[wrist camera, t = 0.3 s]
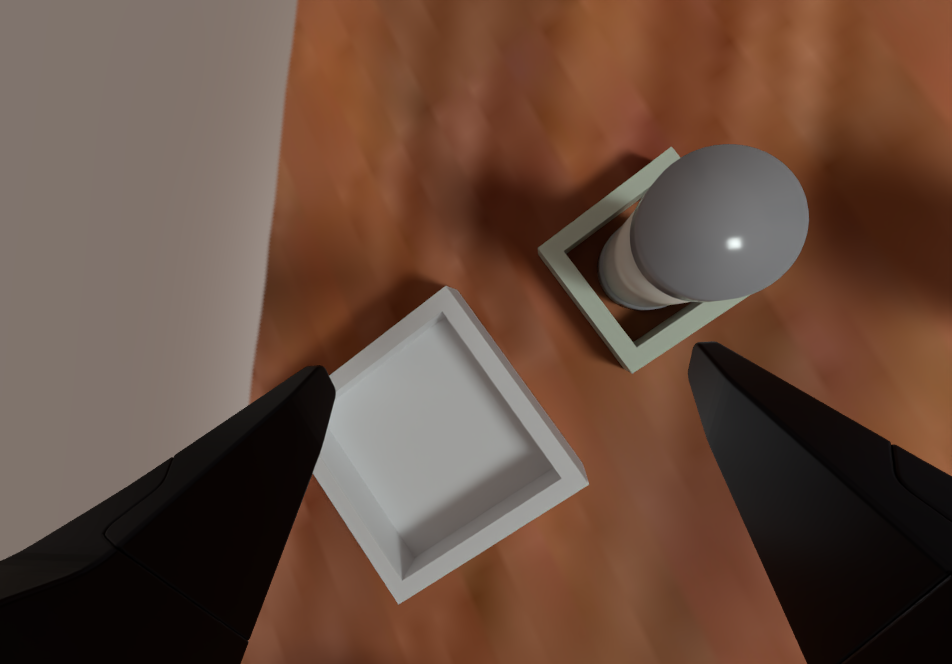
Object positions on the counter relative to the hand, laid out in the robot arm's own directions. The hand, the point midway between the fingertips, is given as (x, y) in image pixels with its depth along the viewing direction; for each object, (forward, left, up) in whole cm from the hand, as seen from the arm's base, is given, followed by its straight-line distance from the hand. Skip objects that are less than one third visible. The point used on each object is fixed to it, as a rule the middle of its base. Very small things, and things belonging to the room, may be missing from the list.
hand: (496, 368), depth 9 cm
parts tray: (-1, +8, -14) cm, 16 cm away
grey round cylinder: (0, -8, -14) cm, 16 cm away
